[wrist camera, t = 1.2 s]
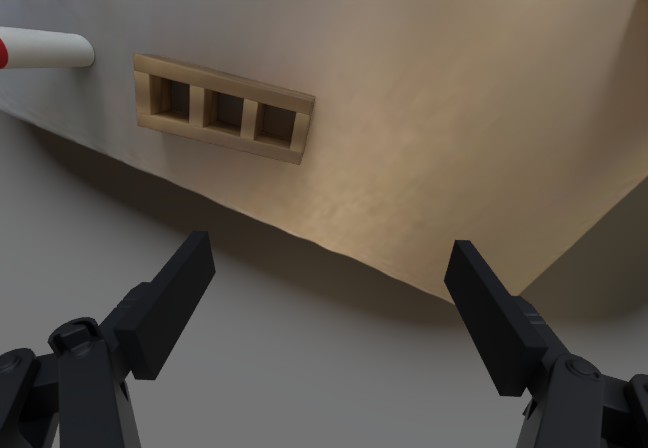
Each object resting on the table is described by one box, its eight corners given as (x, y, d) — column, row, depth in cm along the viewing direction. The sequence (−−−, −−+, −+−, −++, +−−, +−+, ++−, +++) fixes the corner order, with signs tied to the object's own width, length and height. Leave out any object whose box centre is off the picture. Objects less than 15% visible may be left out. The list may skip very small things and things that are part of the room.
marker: (62, 29, 35) (-85, 13, 23) (93, 38, 35) (-36, 26, 23) (67, 62, 37) (-67, 64, 24) (97, 70, 37) (-22, 75, 25)
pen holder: (157, 54, 36) (132, 53, 32) (315, 96, 38) (313, 101, 33) (159, 118, 40) (137, 125, 35) (303, 154, 41) (299, 165, 37)
